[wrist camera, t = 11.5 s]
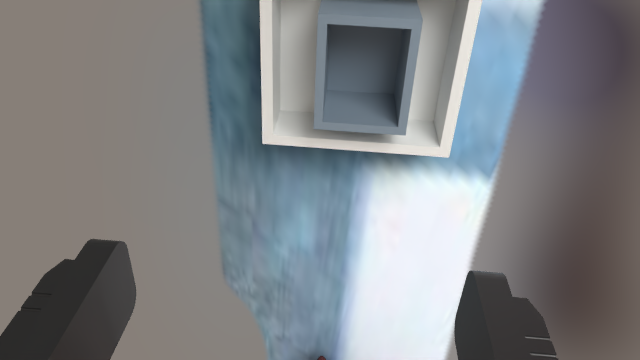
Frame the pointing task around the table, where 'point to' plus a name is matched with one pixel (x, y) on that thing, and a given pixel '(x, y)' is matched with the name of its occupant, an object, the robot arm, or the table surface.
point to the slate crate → (366, 65)
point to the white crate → (300, 71)
